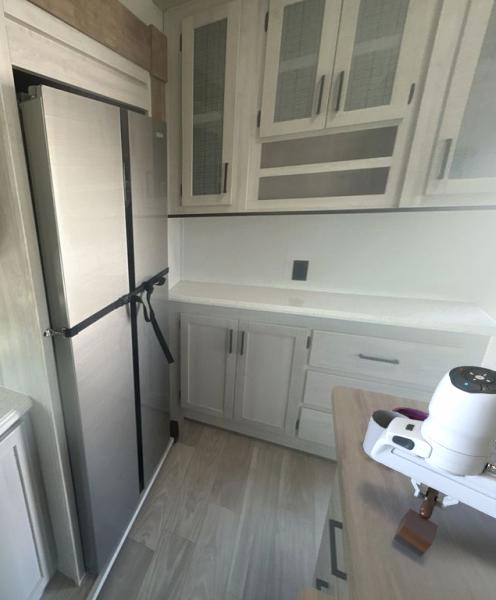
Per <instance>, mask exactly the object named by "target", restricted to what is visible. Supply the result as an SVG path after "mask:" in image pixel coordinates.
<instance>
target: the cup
mask: <svg viewBox="0 0 496 600" xmlns="http://www.w3.org/2000/svg"><path fill="white" fill-rule="evenodd" d="M396 417H400V418H406V419H409V418H408V417H406V416H404V415H402V414H400V413H398V412H394V411H392V410H390V409H377V410H374V411H372V413H371V414H370V418H369V421H368V424H367V425H368V426H367V429H366V433H365V437H364V440H363V443H362V448H363V450H364V452H365V453H366V454H367V456H369V458H371V459H373V457H372V456H371V451H372V449H373V447H374V445H375V443H376V441H377V440H378V438H379V437H380V435H381V433H382V432H383V431H384V430H385V429H386V428H388V426H389V424H390V423H391V421H392V420H393V419H394V418H396ZM373 460H374V459H373Z"/></svg>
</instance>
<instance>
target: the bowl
mask: <svg viewBox="0 0 496 600" xmlns="http://www.w3.org/2000/svg"><path fill="white" fill-rule="evenodd" d="M391 411H394V412H398V413H400V414H402V415H404V416H406V417H408V418H409V419H412V420H418V421H424V420H425V419H426V418H428V416H429V413H427V412H425V411H422V410H420V409H417V408H411V407H405V406H404V407H403V406H402V407H396V408H393V409H392V410H391Z"/></svg>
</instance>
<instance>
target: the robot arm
mask: <svg viewBox="0 0 496 600" xmlns="http://www.w3.org/2000/svg"><path fill="white" fill-rule="evenodd" d="M428 414H429V416H428V418H426V419H425V420H424V421H418V420H412V419H406V418H400V417H396V418H394V419H393V420H392V421H391V423H390V424H389V426H388V428H386V429H385V430H384V431H383V432H382V433H381V435H380V437H379V438H378V440H377V441H376V443H375V445H374V447H373V449H372V451H371V456H372V457H373V460H374V461H375V462H377V463H379V464H381V465H384V466H386V467H387V468H390V469H392V470H394V471H396V472H398V473H400V474H402V475H404V476H406V477H409V478H411V479H410V482H411V484H412V486H413V487H414V494H413V496H414V497H417V498H419V499H421V500H422V501H423V500H424V497H425V495H426V493H427V490H428V488H426V487H427V486H428V487H431V488H433V489H436V490H438V491H439V493H442V494H444V495H445V496H442V495H441V494H438V496H437V499H436V503H435V506H434V507H436V508H438V509H440V510H442V511H446V508H447V506H454V505H458V504H459V502H460V503H463V504H464V505H467V506H469V507H471V508H473V509H475V510H477V511H478V512H479V511H480V512H481V513H484V514H485V515H488V516H490V517H491V518H494V519H496V466H495V465H493V464H491V463H488V462H489V460H490V458H491V455H492V454H493V451H494V447H495V446H494V441H495V439H496V370H493V369H490V368H487V367H486V368H485V367H482V366H477V365H475V366H474V365H460V366H459V365H458V366H456V367H452V368H450V369H449V370H448V371H447V372H446V373H445V374H444V376H443V377H442V378H441V380H440V381H439V383H438V384H437V386H436V388H435V389H434V391H433V394H432V397H431V398H430V401H429V405H428ZM423 485H425V486H426V487H424V486H423Z"/></svg>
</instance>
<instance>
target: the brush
mask: <svg viewBox="0 0 496 600" xmlns="http://www.w3.org/2000/svg"><path fill="white" fill-rule="evenodd" d="M427 489H428V490H427V493H426V495H425V497H424V500H423V499H422V503H421V505H420V508H419V511H418V512H419V513H418V512H417V511H415V510H413V509H412V508H409V509H408V511H406V513H405V515H404V516H403V517H402V519H400V521H399V522H398V523H399V524H398V526H397V529H396V531H395V533H394V536H393V539H394V540H395V541H396V542H398V543H399V544H401V545H402V546H404V547H405V548H406V549H408V550H410V551H411V552H412V553H413V554H415V555H416V556H418V557H419V558H421V557H422V556H424V554H425V553H426V552H427V551H428V550H429V549H430V547H431V546H432V545H433V543H434V539H435V537H436V533H437V530H438V526H439V525H438V524H436V523H434V521H431V520H430V519H431V518H432V516H433V512H434V509H435V507H436V506H435V503H436V499H437V496H438V495H440V494H439V493H440V491H438V490H436V489H433V488H431V487H429V486H428V487H427Z"/></svg>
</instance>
